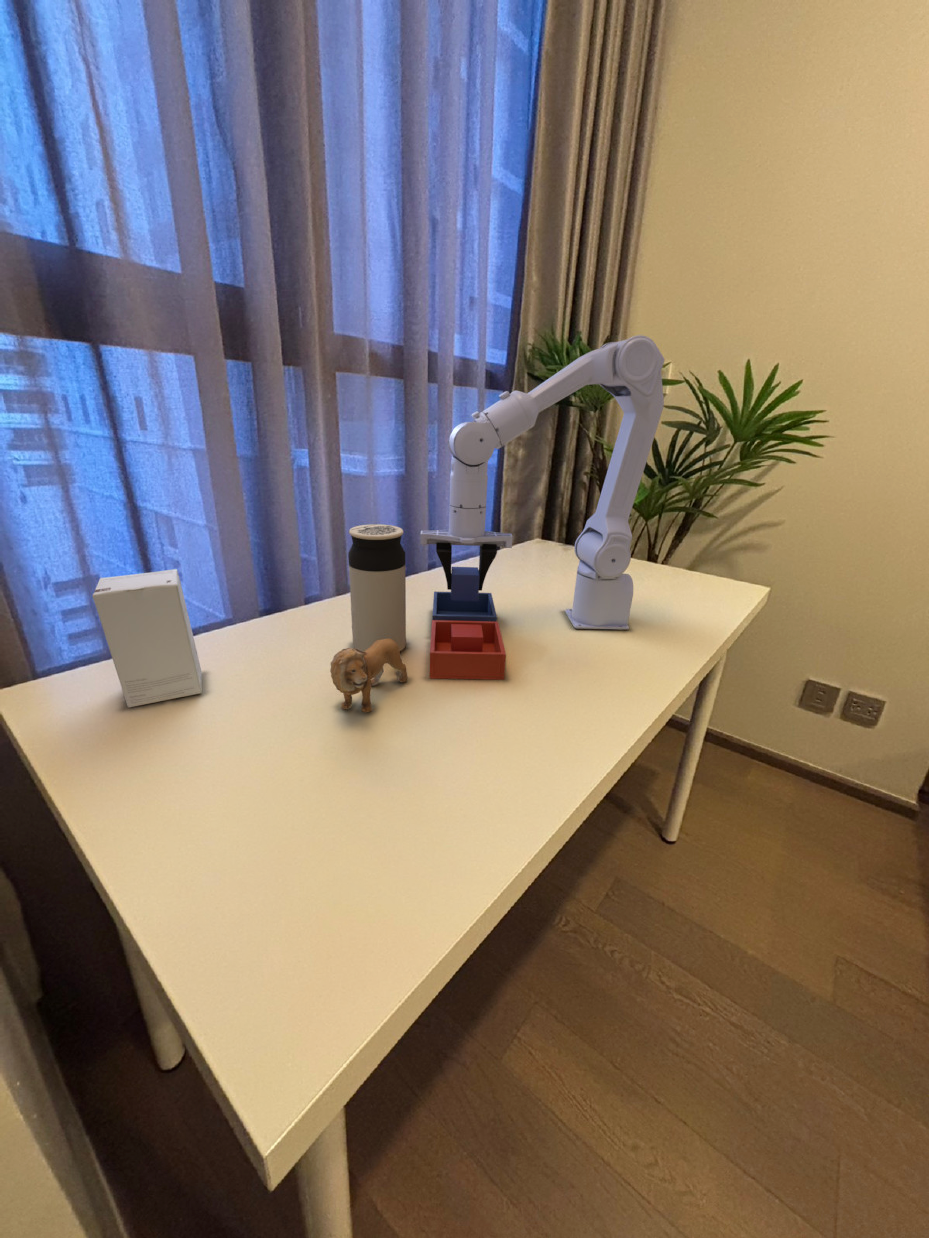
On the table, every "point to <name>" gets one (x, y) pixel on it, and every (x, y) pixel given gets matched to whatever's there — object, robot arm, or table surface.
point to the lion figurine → (364, 670)
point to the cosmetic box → (149, 636)
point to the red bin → (467, 653)
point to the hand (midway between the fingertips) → (464, 588)
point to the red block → (466, 638)
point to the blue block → (465, 584)
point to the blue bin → (463, 608)
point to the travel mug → (377, 585)
